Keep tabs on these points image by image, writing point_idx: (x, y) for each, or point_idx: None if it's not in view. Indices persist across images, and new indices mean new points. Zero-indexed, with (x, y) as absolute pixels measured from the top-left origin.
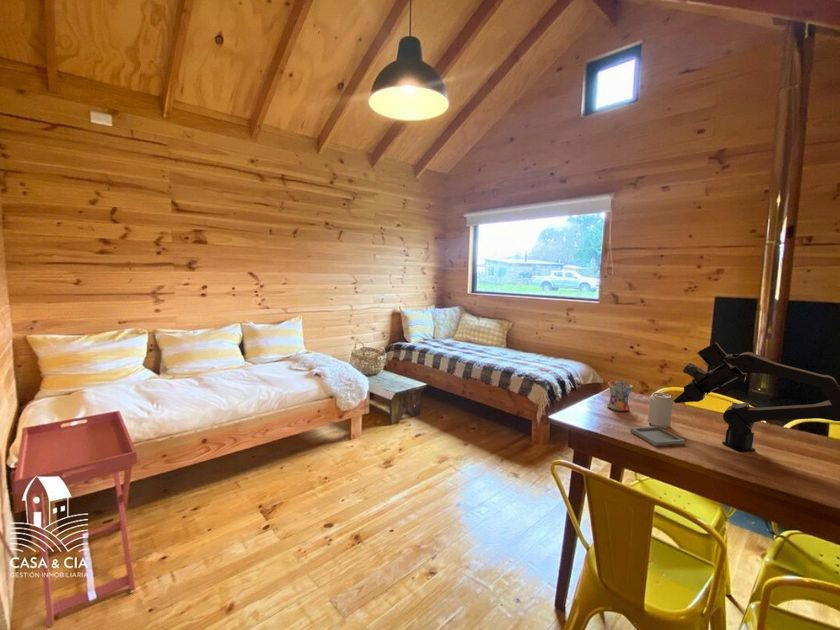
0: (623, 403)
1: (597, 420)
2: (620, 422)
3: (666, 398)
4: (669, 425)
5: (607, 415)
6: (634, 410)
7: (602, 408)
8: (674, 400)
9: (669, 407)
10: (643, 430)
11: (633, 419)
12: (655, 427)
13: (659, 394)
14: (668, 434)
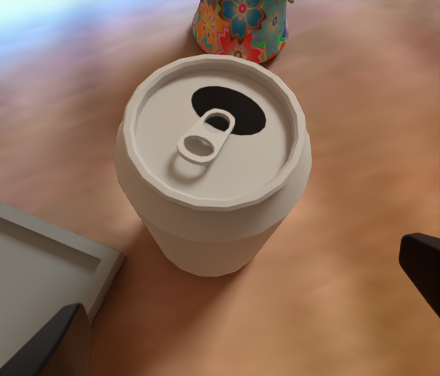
0: (223, 25)
1: (6, 58)
2: (70, 114)
3: (154, 192)
4: (212, 276)
5: (110, 51)
6: (291, 77)
7: (177, 8)
8: (60, 316)
9: (182, 249)
10: (22, 227)
11: None
12: (86, 252)
13: (258, 94)
14: None
